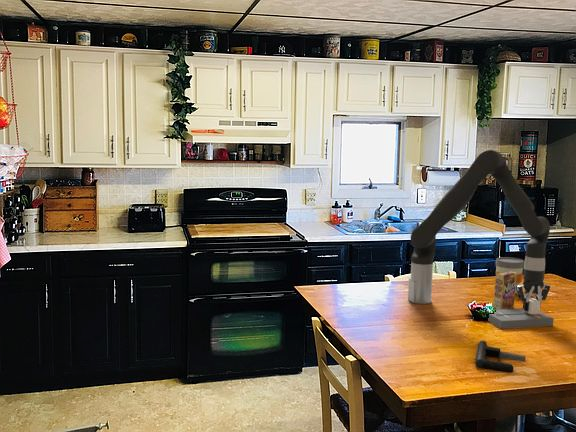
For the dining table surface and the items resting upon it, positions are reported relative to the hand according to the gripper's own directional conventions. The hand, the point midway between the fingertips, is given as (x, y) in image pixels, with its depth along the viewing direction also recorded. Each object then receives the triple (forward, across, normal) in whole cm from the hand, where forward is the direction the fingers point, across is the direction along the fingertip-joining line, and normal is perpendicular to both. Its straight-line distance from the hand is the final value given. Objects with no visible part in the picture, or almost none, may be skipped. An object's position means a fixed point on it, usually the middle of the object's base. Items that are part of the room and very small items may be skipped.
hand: (531, 310), depth 237 cm
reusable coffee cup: (+4, -16, -43) cm, 46 cm away
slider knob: (+1, 0, 0) cm, 1 cm away
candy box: (+4, +1, -18) cm, 19 cm away
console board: (+4, +6, 0) cm, 7 cm away
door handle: (+5, +35, +36) cm, 51 cm away
